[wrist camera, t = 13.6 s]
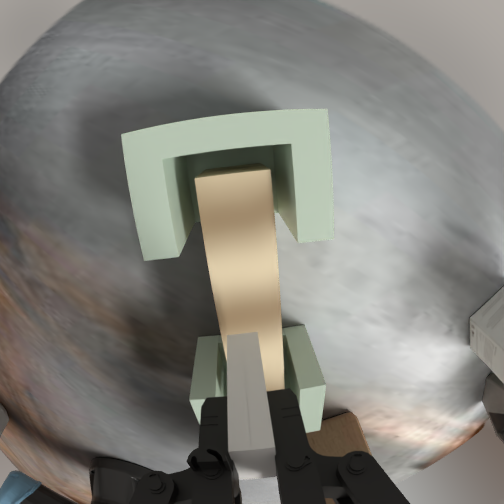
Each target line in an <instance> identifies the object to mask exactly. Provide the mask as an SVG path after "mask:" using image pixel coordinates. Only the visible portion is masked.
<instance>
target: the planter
mask: <svg viewBox="0 0 504 504" xmlns="http://www.w3.org/2000/svg"><path fill="white" fill-rule="evenodd" d="M482 402H483V404H484V406H485V409H486V411H487V413H488V416H489V418H490V420H491V423H492V425H493V428H494V430H495V433H496V435H497V436H498V437H499V438H500V440H501V441H502V442H503V443H504V383H503V382H502V381H501V380H500V379H499V378H498V377H497V376H496V375H495V374H494V373H493V372H492V373H491V374H490V375H489V376H488V377H487V378H486V382H485V388H484V394H483V399H482Z"/></svg>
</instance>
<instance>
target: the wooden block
mask: <svg viewBox="0 0 504 504" xmlns="http://www.w3.org/2000/svg"><path fill="white" fill-rule="evenodd" d="M306 435H307V439H308V443H309V445H310V447H311V448H312V449H313V451H315V452H316V453H318V454H320V455H323V456H334V457H343V456H344V455H346V454H347V453H349V452H353V451H364V452H367V453H369V454H370V455H371V456H372V454H371V452H370V449H369V446H368V444H367V441H366V439H365V436H364V434H363V431H362V429H361V426H360V423H359V421H358V418H357V417H356V416H355V415H354V414H353V413H352V412H349V413H345V414H342V415H339V416H336V417H333V418H330V419H327V420H323V421H321V427H320V430H319V431H314V432H308V433H306ZM325 501H326V504H335V502H334V500H333V499H332V498H325Z"/></svg>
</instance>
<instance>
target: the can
mask: <svg viewBox="0 0 504 504" xmlns="http://www.w3.org/2000/svg"><path fill="white" fill-rule="evenodd" d="M8 421H9V418H8V415H7V411H6V410H5V408H4V407H3V406H2V405H1V404H0V436H1V434H2V432H3V430H4V429H5V427H6V425H7V423H8Z"/></svg>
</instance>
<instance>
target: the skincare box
mask: <svg viewBox="0 0 504 504" xmlns="http://www.w3.org/2000/svg"><path fill="white" fill-rule="evenodd" d="M470 348H471V349H472V350H473V351H474V352H475V353H476V354H477V355H478V357H479V358H480V359H481V360H482V361H483V362H484V363H485V364H486V365H487V366H488V367H489V368H490V369H491V370H492V371H493V373H494V374H495V375H496V376H497V377H498V378H499V379H500V380H501V381H502V382H503V383H504V286H503V287H502V288H501V289H500V290H499V291H498V292H497V293H496V294H495V295H494V296H493V297H492V298H491V299H490V300H489V301H488V302H487V303H486V304H485V305H483V306H482V307H481V308H480V309H479V310H478V311H477V312H476V313H475V314H474V315H472V316H471V317H470Z"/></svg>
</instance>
